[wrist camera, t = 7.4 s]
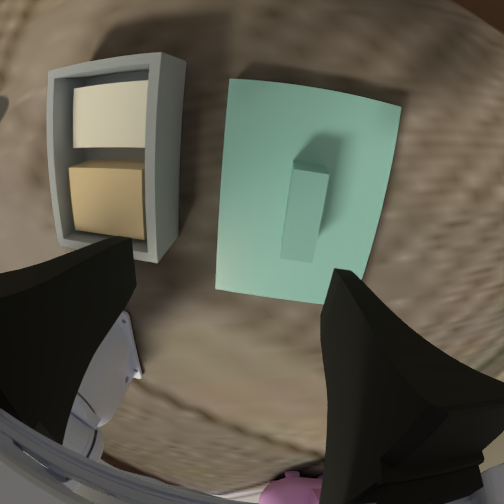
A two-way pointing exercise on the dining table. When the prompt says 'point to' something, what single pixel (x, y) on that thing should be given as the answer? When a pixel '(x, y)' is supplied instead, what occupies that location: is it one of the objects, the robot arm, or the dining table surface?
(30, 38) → the dining table surface
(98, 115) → the box
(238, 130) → the lid
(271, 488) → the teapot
